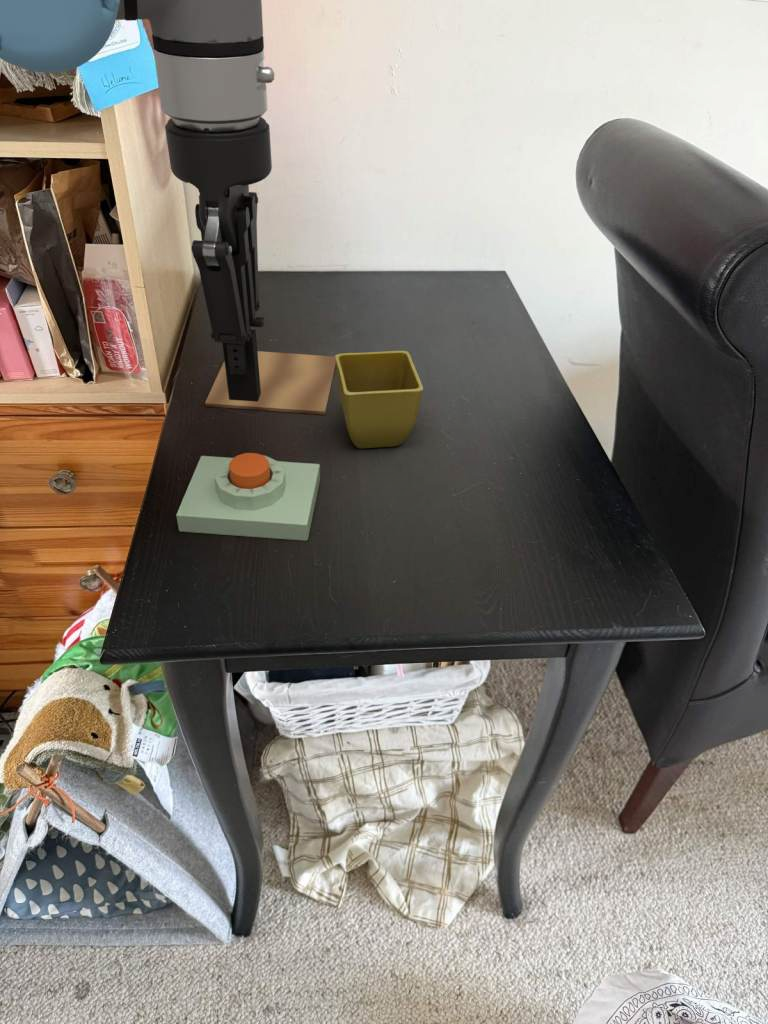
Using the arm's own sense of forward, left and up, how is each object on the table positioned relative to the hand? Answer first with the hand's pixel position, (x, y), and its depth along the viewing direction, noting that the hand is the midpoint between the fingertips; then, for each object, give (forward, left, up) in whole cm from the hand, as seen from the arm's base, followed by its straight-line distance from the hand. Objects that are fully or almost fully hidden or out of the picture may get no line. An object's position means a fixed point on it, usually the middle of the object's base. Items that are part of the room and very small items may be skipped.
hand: (245, 396), depth 68 cm
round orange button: (0, 0, -10) cm, 10 cm away
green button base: (0, 0, -13) cm, 13 cm away
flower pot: (+12, +14, -13) cm, 23 cm away
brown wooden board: (-2, +25, -13) cm, 28 cm away
